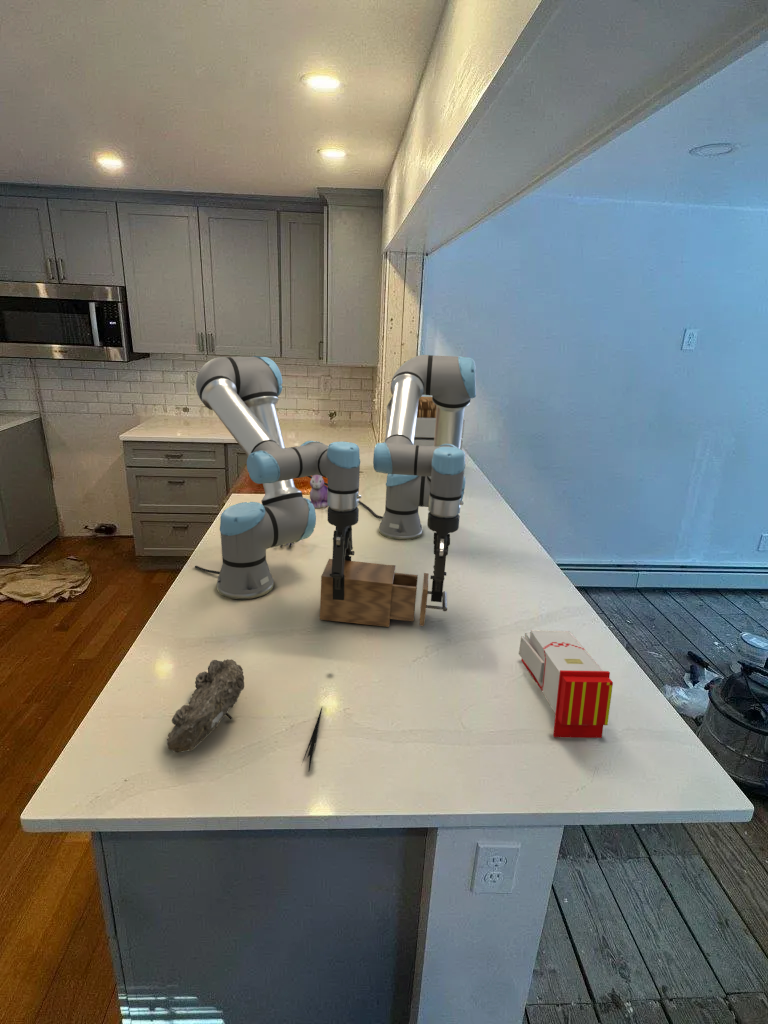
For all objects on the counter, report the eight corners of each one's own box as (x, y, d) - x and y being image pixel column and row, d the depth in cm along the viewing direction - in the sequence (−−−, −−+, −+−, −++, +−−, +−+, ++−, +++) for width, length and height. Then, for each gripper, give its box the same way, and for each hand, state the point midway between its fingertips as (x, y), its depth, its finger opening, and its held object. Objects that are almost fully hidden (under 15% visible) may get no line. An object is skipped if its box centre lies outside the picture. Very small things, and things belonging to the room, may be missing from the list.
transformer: (382, 463, 289) (386, 382, 275) (445, 464, 293) (451, 384, 279) (390, 482, 257) (394, 392, 243) (460, 483, 261) (468, 394, 247)
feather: (331, 679, 122) (336, 673, 122) (307, 777, 96) (313, 769, 95) (324, 675, 122) (329, 669, 121) (298, 772, 95) (304, 764, 95)
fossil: (192, 660, 117) (244, 628, 112) (224, 691, 120) (276, 661, 115) (142, 746, 98) (202, 712, 93) (182, 779, 101) (242, 748, 96)
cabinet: (392, 606, 150) (395, 565, 146) (388, 627, 141) (392, 583, 137) (327, 599, 152) (329, 558, 147) (319, 619, 142) (321, 576, 138)
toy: (565, 614, 131) (622, 678, 102) (559, 667, 134) (613, 744, 105) (513, 613, 131) (555, 677, 102) (509, 666, 134) (548, 744, 104)
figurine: (313, 510, 219) (313, 472, 214) (304, 501, 227) (304, 465, 222) (335, 507, 223) (336, 470, 218) (326, 499, 231) (326, 463, 226)
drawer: (444, 609, 149) (448, 575, 145) (445, 628, 140) (449, 592, 137) (364, 601, 150) (366, 566, 147) (359, 619, 141) (361, 583, 138)
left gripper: (351, 524, 126) (349, 612, 133) (364, 493, 147) (362, 570, 155) (318, 522, 126) (318, 609, 134) (336, 491, 148) (335, 568, 155)
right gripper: (460, 524, 128) (451, 614, 137) (459, 505, 140) (450, 589, 149) (427, 521, 129) (420, 612, 137) (428, 502, 141) (422, 586, 149)
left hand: (342, 588), depth 144 cm, fingers closed on cabinet, 10 cm apart
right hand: (436, 600), depth 143 cm, fingers closed
